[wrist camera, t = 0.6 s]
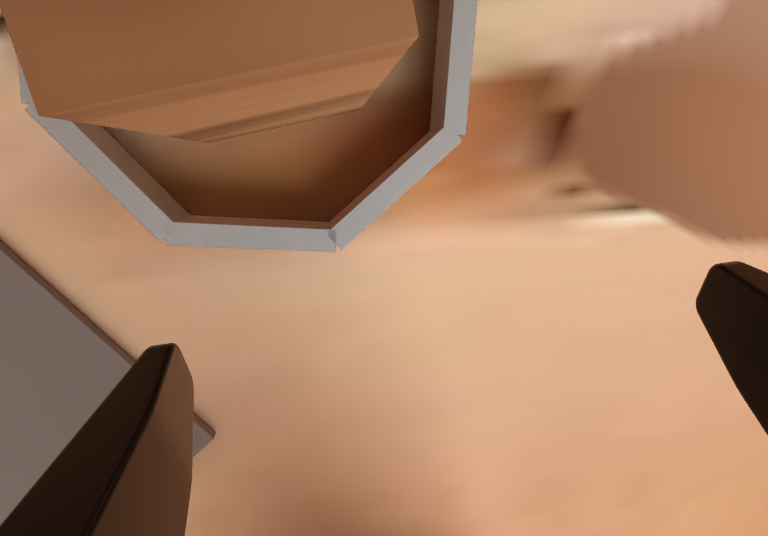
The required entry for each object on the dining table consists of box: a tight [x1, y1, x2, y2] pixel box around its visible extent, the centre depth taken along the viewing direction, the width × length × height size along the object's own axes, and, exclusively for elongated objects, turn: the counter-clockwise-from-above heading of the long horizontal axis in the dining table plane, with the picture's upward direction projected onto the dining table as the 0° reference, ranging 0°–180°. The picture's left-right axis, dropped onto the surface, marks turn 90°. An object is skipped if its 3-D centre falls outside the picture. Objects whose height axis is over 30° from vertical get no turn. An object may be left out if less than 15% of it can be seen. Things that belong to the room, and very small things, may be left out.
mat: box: [0, 241, 216, 524], centre depth 21 cm, size 12×10×1 cm
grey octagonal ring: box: [18, 0, 477, 252], centre depth 19 cm, size 15×15×2 cm
